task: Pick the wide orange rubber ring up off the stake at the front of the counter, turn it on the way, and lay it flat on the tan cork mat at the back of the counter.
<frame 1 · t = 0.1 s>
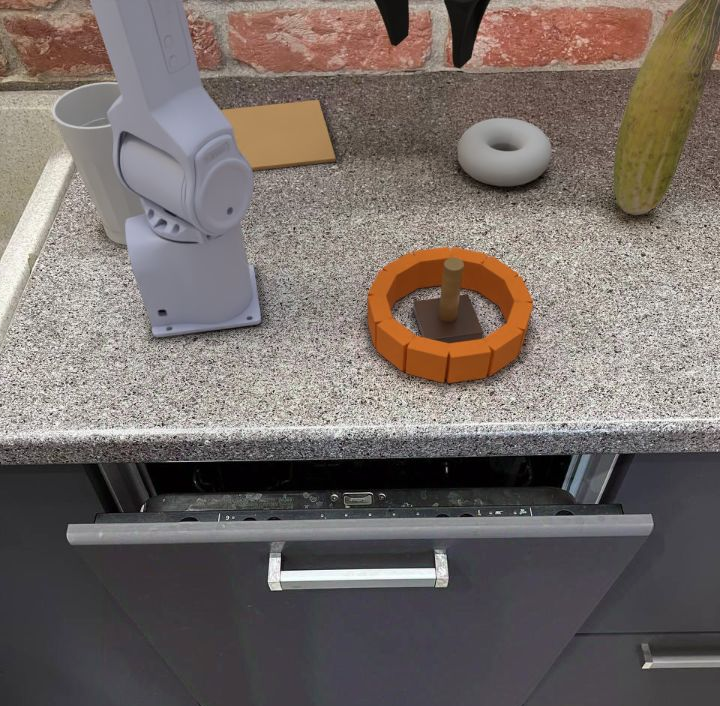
hand: (430, 51, 68), 11 cm above the worktop, tool pointing down, fingers open, 7 cm apart
stake: (446, 324, 60), on the worktop
vegetable: (624, 211, 70), on the worktop
ring: (446, 324, 60), on the worktop
donut: (501, 168, 75), on the worktop
cup: (137, 227, 69), on the worktop
mat: (270, 137, 79), on the worktop
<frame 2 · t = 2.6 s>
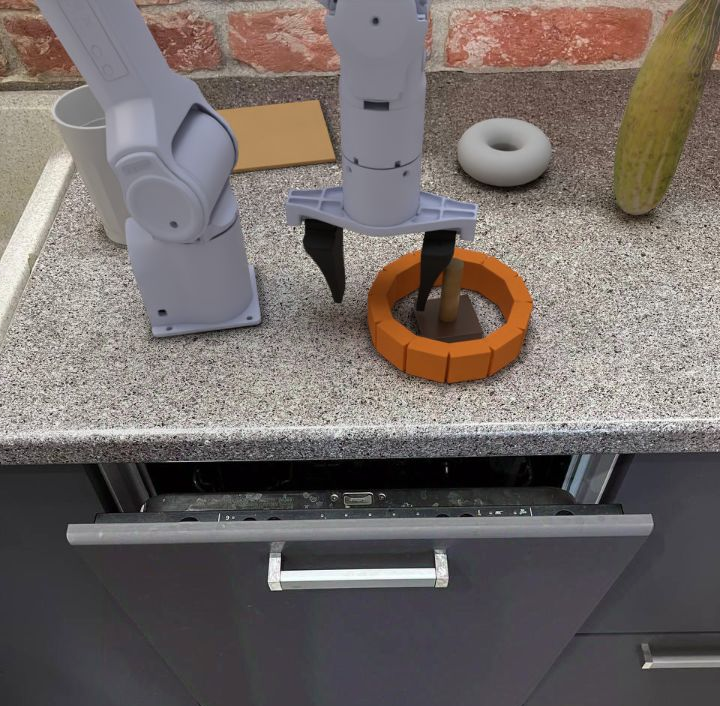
hand: (380, 299, 59), 2 cm above the worktop, tool pointing down, fingers open, 6 cm apart
nothing on the worktop moved.
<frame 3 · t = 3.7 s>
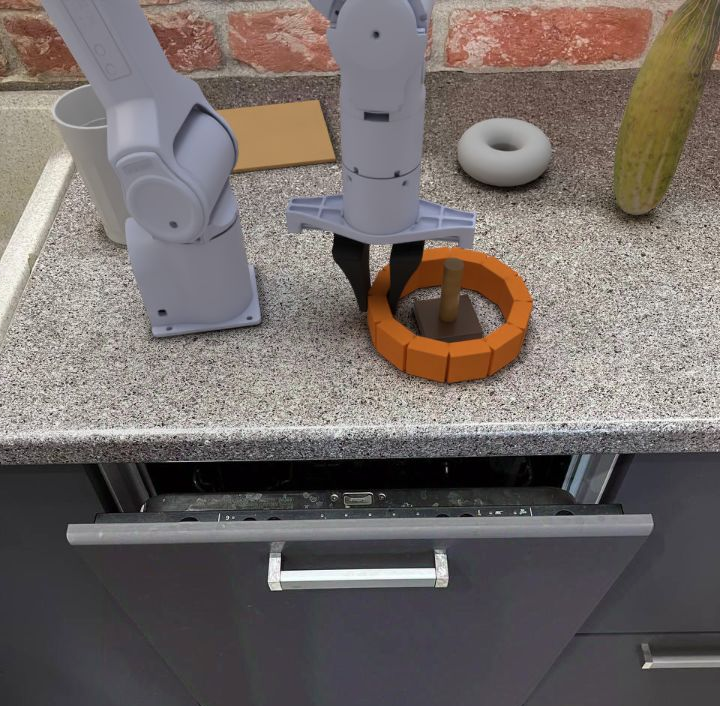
hand: (379, 305, 60), 1 cm above the worktop, tool pointing down, fingers closed on ring, 2 cm apart
ring: (446, 324, 60), on the worktop, touching gripper
everything else where it was.
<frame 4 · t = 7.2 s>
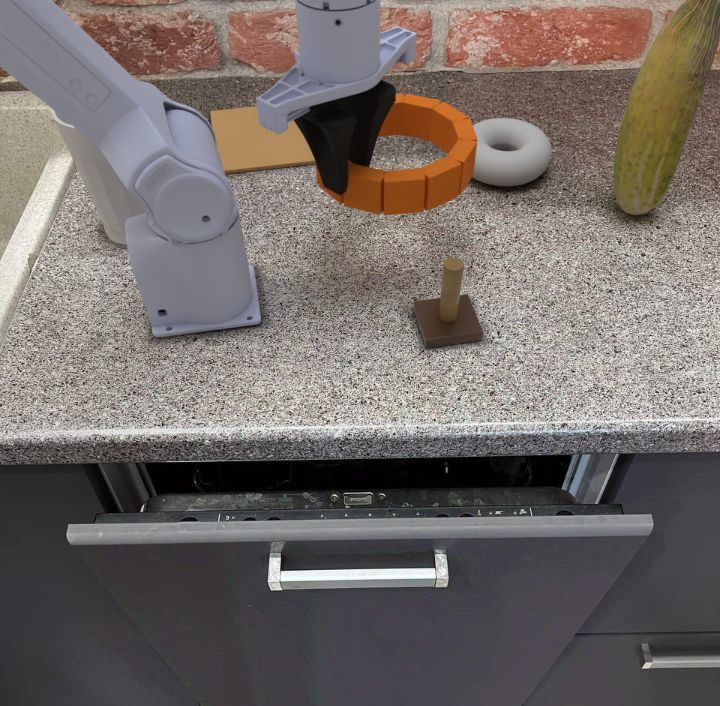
hand: (345, 182, 57), 9 cm above the worktop, tool pointing down, fingers closed on ring
ring: (393, 167, 60), point 8 cm above the worktop, touching gripper
everything else where it was.
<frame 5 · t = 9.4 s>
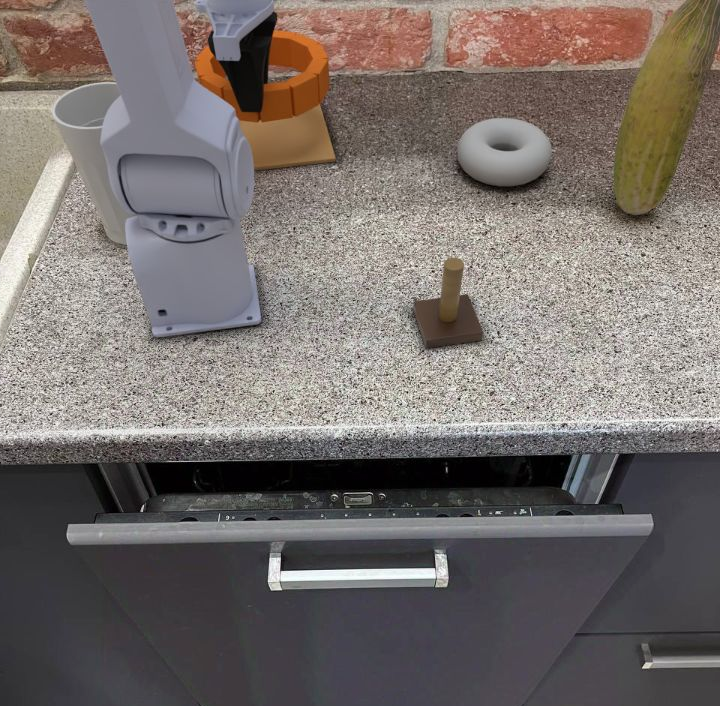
hand: (253, 104, 70), 7 cm above the worktop, tool pointing down, fingers closed on ring
ring: (265, 88, 74), point 5 cm above the worktop, touching gripper
everything else where it was.
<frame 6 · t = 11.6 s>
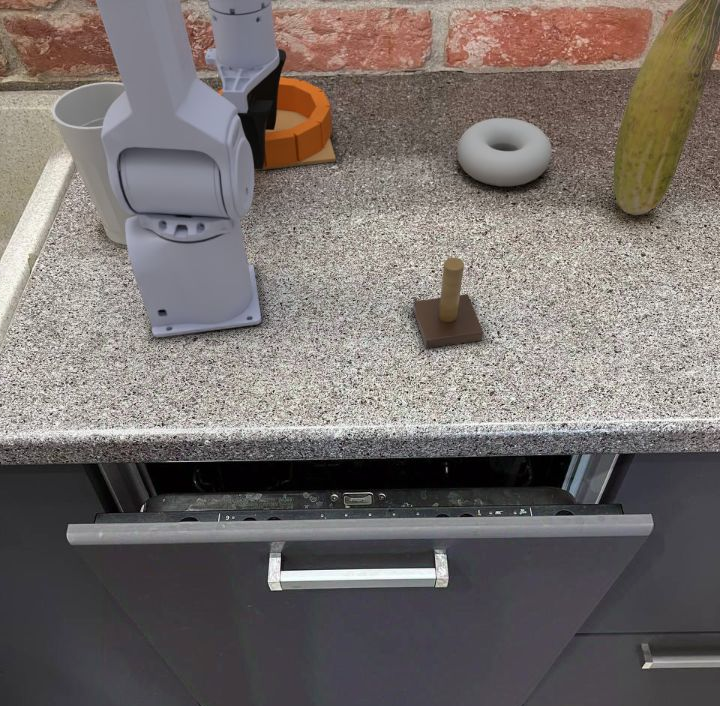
hand: (259, 147, 73), 2 cm above the worktop, tool pointing down, fingers open, 7 cm apart
ring: (270, 133, 78), resting on mat
everything else where it was.
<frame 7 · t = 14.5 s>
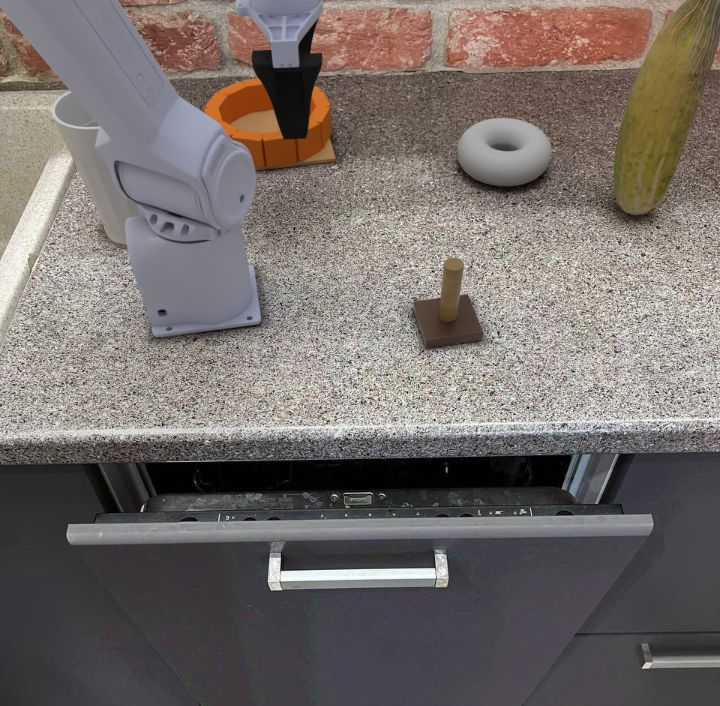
hand: (295, 114, 63), 9 cm above the worktop, tool pointing down, fingers open, 7 cm apart
nothing on the worktop moved.
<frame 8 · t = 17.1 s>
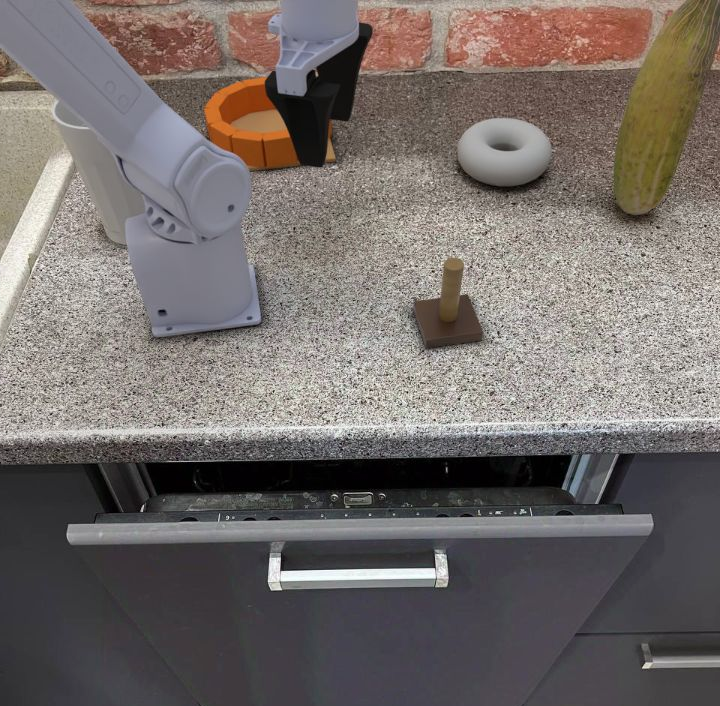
hand: (325, 140, 61), 9 cm above the worktop, tool pointing down, fingers open, 7 cm apart
nothing on the worktop moved.
at the end: ring 0.0 cm off-centre on the mat, point 0.4 cm above the mat's base; ring touching mat; ring tilted 0° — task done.
